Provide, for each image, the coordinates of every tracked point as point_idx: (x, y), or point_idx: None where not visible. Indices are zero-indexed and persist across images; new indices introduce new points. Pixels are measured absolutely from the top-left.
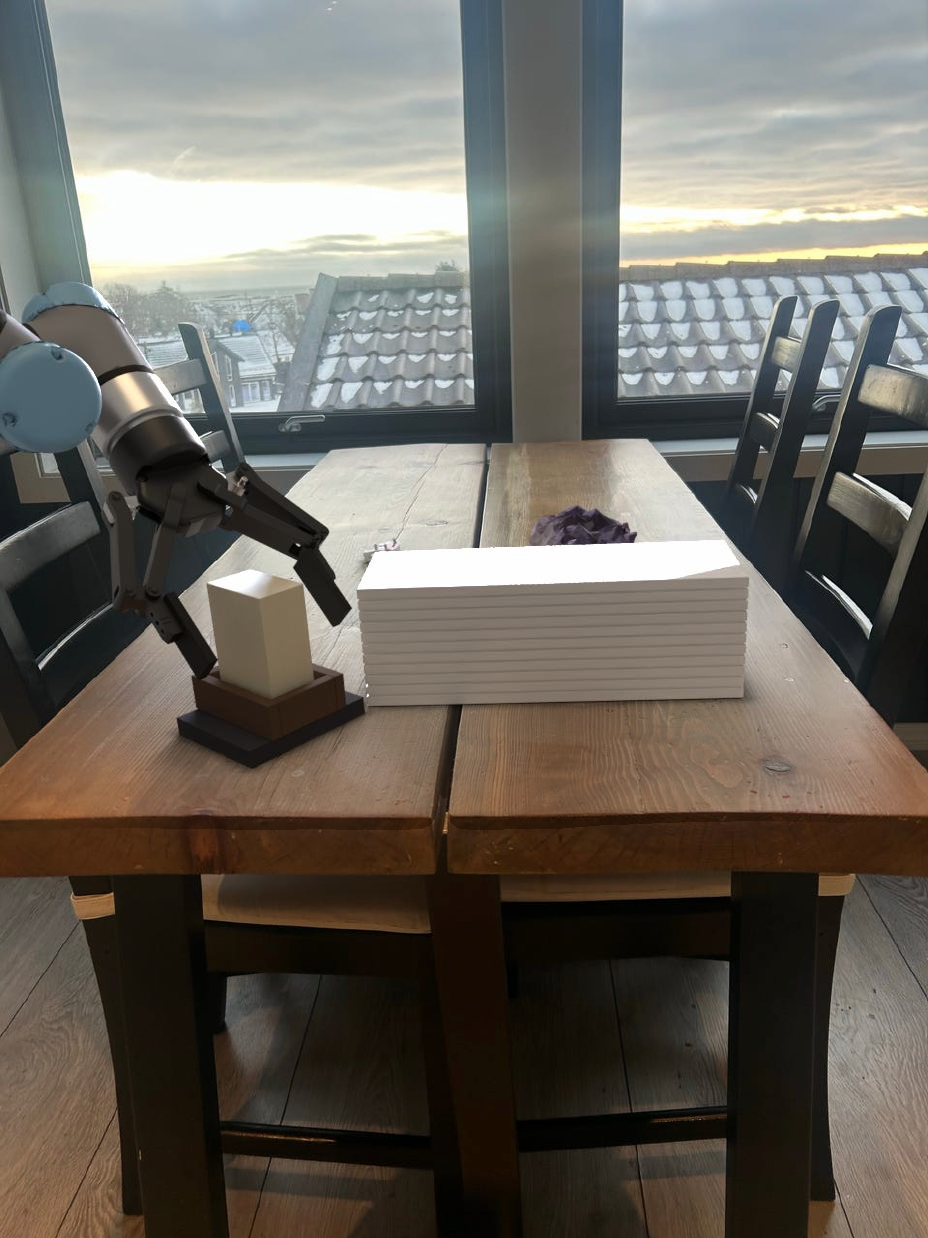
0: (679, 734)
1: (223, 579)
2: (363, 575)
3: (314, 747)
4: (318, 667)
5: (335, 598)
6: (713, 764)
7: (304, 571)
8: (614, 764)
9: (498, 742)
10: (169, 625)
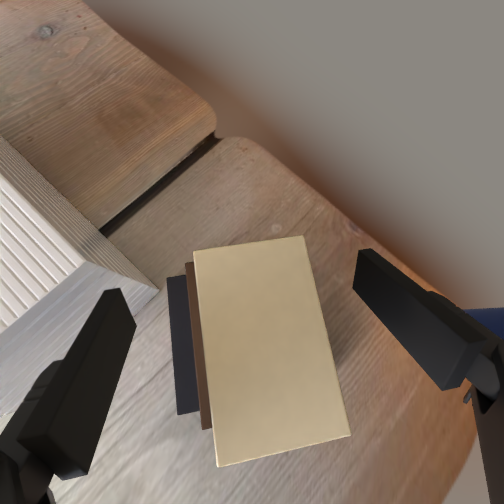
0: (38, 86)
1: (308, 429)
2: (6, 328)
3: None
4: (194, 300)
5: (111, 310)
6: (67, 54)
7: (88, 419)
8: (107, 91)
9: (134, 161)
10: (444, 302)
